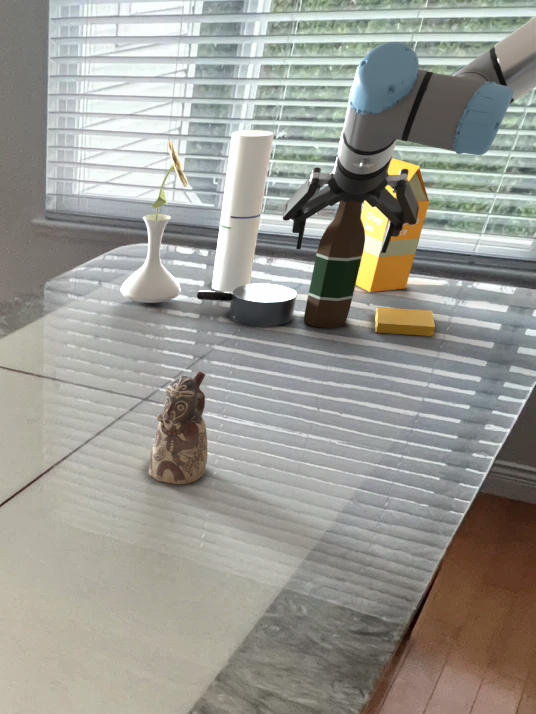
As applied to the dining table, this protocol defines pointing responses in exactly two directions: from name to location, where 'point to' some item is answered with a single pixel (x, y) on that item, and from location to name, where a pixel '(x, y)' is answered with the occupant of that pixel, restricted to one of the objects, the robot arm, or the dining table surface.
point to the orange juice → (398, 259)
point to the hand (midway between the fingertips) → (341, 243)
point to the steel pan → (257, 304)
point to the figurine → (181, 434)
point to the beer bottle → (336, 268)
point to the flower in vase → (155, 252)
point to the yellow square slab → (404, 321)
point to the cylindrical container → (241, 208)
